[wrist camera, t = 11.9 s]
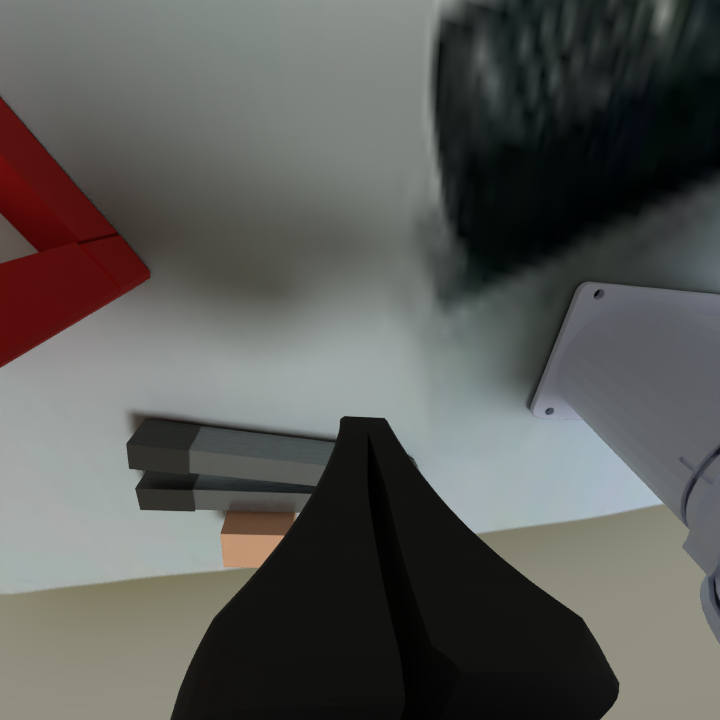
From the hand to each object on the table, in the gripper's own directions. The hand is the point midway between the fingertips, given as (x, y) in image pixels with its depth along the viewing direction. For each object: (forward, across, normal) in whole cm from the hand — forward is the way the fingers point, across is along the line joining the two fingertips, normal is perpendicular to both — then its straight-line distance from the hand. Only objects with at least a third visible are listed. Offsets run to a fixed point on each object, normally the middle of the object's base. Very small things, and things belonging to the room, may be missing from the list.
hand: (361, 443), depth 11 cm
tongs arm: (+8, +3, +8) cm, 12 cm away
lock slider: (+8, +5, +13) cm, 16 cm away
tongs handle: (+9, +5, +10) cm, 14 cm away
